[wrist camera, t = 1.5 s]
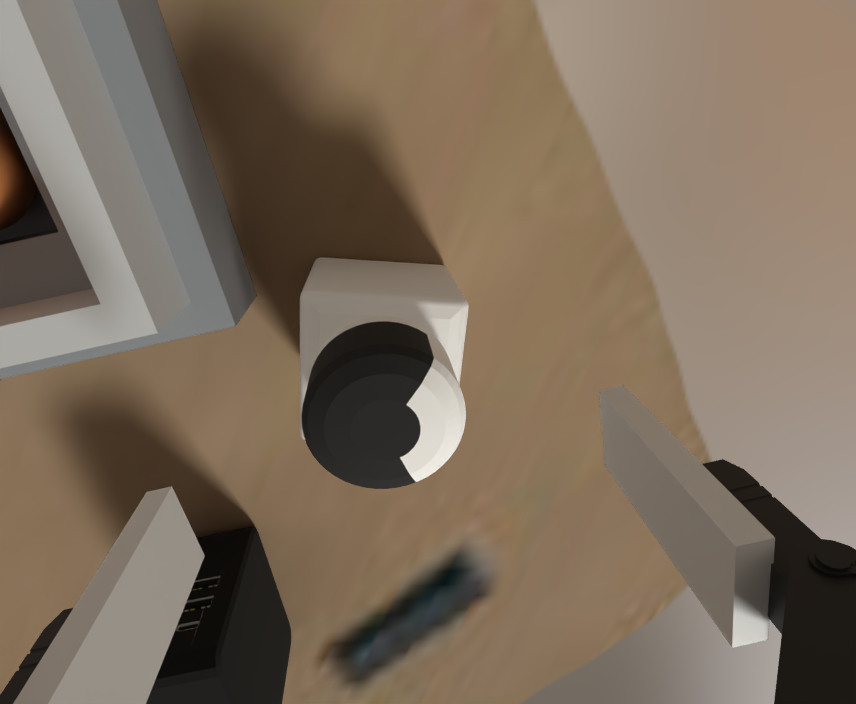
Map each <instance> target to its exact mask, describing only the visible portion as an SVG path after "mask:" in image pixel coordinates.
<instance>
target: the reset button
mask: <svg viewBox="0 0 856 704" xmlns="http://www.w3.org/2000/svg"><path fill="white" fill-rule="evenodd" d="M36 188H37V185H36V182H35V180H34V178H33V176H32V174H31V172H30V170H29V167H28V165H27V163H26V161H25V159H24V157H23V155H22V152H21V150H20V148H19V146H18V144H17V142H16V139H15V137H14V135H13V133H12V131H11V129H10V127H9V124H8V122H7V120H6V118H5V116H4V114H3V112H2V109H1V107H0V230H3V229H5V228H7V227H9V226H11V225H13V224H14V223H16V222H17V221H18V220H20V219H21V218H22V217H23V216H24V215H25V213H26V212H27V211H28V209H29V208H30V206H31V204H32V202H33V200H34V197H35V194H36Z"/></svg>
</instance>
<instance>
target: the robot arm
mask: <svg viewBox="0 0 856 704" xmlns="http://www.w3.org/2000/svg"><path fill="white" fill-rule="evenodd" d="M599 400H600V412H601V424H602V436H603V448H604V460H605V466H606V468H607V469H608V470H609V472H610V473H611V475H612V476H613V478H614V479H615V481H616V482H617V483H618V485H619V486H620V488H621V489H622V491H623V492H624V493H625V495H626V496H627V498H628V499H629V501H630V502H631V503H632V505H633V506H634V508H635V509H636V511H637V512H638V513H639V515H640V516H641V518H642V519H643V521H644V522H645V523H646V525H647V526H648V528H649V529H650V531H651V532H652V534H653V535H654V536H655V538H656V539H657V541H658V542H659V544H660V545H661V546H662V548H663V549H664V551H665V552H666V554H667V555H668V556H669V558H670V559H671V561H672V562H673V564H674V565H675V566H676V568H677V569H678V571H679V572H680V574H681V575H682V576H683V578H684V579H685V581H686V582H687V584H688V585H689V587H690V588H691V589H692V591H693V592H694V594H695V595H696V597H697V598H698V599H699V601H700V602H701V604H702V605H703V606H704V608H705V609H706V611H707V612H708V614H709V615H710V617H711V618H712V619H713V621H714V622H715V624H716V625H717V627H718V628H719V629H720V631H721V632H722V634H723V635H724V637H725V638H726V640H727V641H728V642H729V644H730V645H731V647H732V648H733V647H737V646H742V645H746V644H751V643H754V642H759V641H764V640H768V631H769V619H770V620H771V621H772V623H773V624H774V625H775V626H776V628H777V629H778V630H779V631H780V632H781V634H782V639H781V648H780V658H779V666H778V675H777V684H776V692H775V702H774V704H856V550H855V549H854V548H852V547H850V546H848V545H845V544H842V543H839V542H836V541H832V540H823V539H820V538H819V537H818V536H817V535H816V534H815V533H814V532H812V531H811V530H810V529H809V528H808V527H807V526H806V525H805V524H804V523H803V522H801V521H800V520H799V519H798V518H797V517H796V516H795V515H794V514H792V512H790V511H789V510H788V509H787V508H786V507H785V506H784V505H783V504H782V503H781V502H779V501H778V500H777V499H776V498H775V497H774V498H773V497H772V495H771V494H770V493H769V492H768V491H767V490H766V489H765V488H764V487H763V486H760V485H759V483H758V482H757V481H756V480H755V479H754V478H753V477H752V476H751V475H750V474H748V473H747V472H746V471H745V470H744V469H742V468H740V467H738V466H736V465H734V464H731V463H729V462H727V461H725V460H718V461H714V462H709V463H705V464H701V463H700V462H699V461H698V460H697V459H696V458H695V457H694V456H693V455H692V454H691V453H690V452H689V451H688V450H687V449H686V448H685V447H684V446H683V445H682V444H681V443H680V442H679V441H678V440H677V439H676V437H675V436H674V435H673V434H672V433H671V432H670V431H669V430H668V429H667V428H666V427H665V426H664V425H663V424H662V423H661V422H660V421H659V420H658V419H657V418H656V417H655V416H654V415H653V414H652V413H651V412H650V411H649V410H648V409H647V408H646V407H645V406H644V405H643V404H642V403H641V402H640V401H639V400H638V399H637V398H636V397H635V396H634V395H633V394H632V393H631V392H630V391H629V390H628V389H627V388H626V387H625V386H624V385H621V386H617V387H612V388H608V389H603V390H599ZM204 557H205V555H204V553H203V551H202V549H201V547H200V545H199V543H198V540H197V538H196V536H195V534H194V532H193V530H192V528H191V526H190V524H189V521H188V519H187V517H186V515H185V513H184V511H183V509H182V507H181V505H180V502H179V500H178V498H177V496H176V494H175V492H174V490H173V488H172V486H171V487H167V488H162V489H158V490H153V491H149V492H146V494H145V495H144V497H143V499H142V500H141V502H140V503H139V505H138V507H137V508H136V510H135V511H134V513H133V514H132V516H131V518H130V519H129V521H128V522H127V524H126V526H125V527H124V529H123V530H122V532H121V533H120V535H119V537H118V538H117V540H116V541H115V543H114V545H113V546H112V548H111V549H110V551H109V553H108V554H107V556H106V557H105V559H104V560H103V562H102V564H101V565H100V567H99V568H98V570H97V572H96V573H95V575H94V576H93V578H92V579H91V581H90V583H89V584H88V586H87V587H86V589H85V591H84V592H83V594H82V595H81V597H80V598H79V600H78V602H77V603H76V605H75V606H74V608H71V609H66V610H63V611H62V612H61V613H60V614H59V615H58V616H57V617H56V618H55V619H54V620H53V621H52V622H51V623H50V624H49V625H48V626H47V627H46V628H45V629H44V630H43V632H42V633H41V635H40V636H39V638H38V639H37V641H36V642H35V644H34V645H33V647H32V648H31V650H30V651H31V652H30V654H27V656H26V657H25V659H24V660H23V662H22V663H21V665H20V666H19V671H16V672H15V674H14V675H13V677H12V678H11V680H10V681H9V683H8V684H7V686H6V687H5V689H4V690H3V692H2V693H1V695H0V704H146V702H147V700H148V697H149V695H150V692H151V690H152V687H153V685H154V682H155V680H156V677H157V675H158V672H159V670H160V667H161V665H162V662H163V660H164V657H165V655H166V652H167V649H168V647H169V644H170V642H171V639H172V637H173V634H174V632H175V629H176V627H177V624H178V622H179V619H180V617H181V614H182V612H183V609H184V607H185V604H186V602H187V599H188V597H189V594H190V592H191V589H192V587H193V584H194V582H195V579H196V577H197V574H198V572H199V569H200V567H201V564H202V562H203V559H204Z"/></svg>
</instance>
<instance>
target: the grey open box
mask: <svg viewBox="0 0 856 704" xmlns="http://www.w3.org/2000/svg"><path fill="white" fill-rule="evenodd" d="M0 107H1V109H2V112H3V114H4V116H5V118H6V120H7V122H8V124H9V127H10V129H11V131H12V133H13V135H14V137H15V139H16V142H17V144H18V146H19V148H20V150H21V152H22V155H23V157H24V159H25V161H26V163H27V165H28V167H29V170H30V172H31V174H32V176H33V178H34V180H35V182H36V185H37V188H36V194H35V197H34V200H33V202H32V204H31V206H30V208H29V209H28V211H27V212H26V213H25V215H24V216H23V217H22V218H21V219H20V220H18V221H17V222H16V223H14V224H13V225H11V226H9V227H7V228H5V229H3V230H0V379H3V378H7V377H12V376H16V375H21V374H25V373H30V372H34V371H38V370H43V369H47V368H52V367H56V366H61V365H65V364H70V363H74V362H79V361H83V360H87V359H92V358H96V357H101V356H105V355H110V354H114V353H119V352H123V351H128V350H132V349H136V348H141V347H145V346H150V345H154V344H159V343H163V342H168V341H172V340H177V339H181V338H186V337H190V336H194V335H199V334H203V333H208V332H212V331H217V330H221V329H226V328H230V327H235V326H236V325H237V324H238V322H239V321H240V319H241V318H242V316H243V315H244V313H245V312H246V311H247V309H248V308H249V306H250V305H251V303H252V302H253V301H254V299H255V298H256V296H257V295H256V292H255V289H254V287H253V284H252V281H251V278H250V275H249V272H248V269H247V266H246V263H245V260H244V257H243V254H242V251H241V248H240V245H239V242H238V239H237V236H236V233H235V230H234V227H233V224H232V222H231V219H230V216H229V213H228V210H227V207H226V204H225V201H224V198H223V195H222V192H221V189H220V186H219V183H218V180H217V177H216V174H215V171H214V168H213V165H212V162H211V160H210V157H209V154H208V151H207V148H206V145H205V142H204V139H203V136H202V133H201V130H200V127H199V124H198V121H197V118H196V115H195V112H194V109H193V106H192V103H191V100H190V98H189V95H188V92H187V89H186V86H185V83H184V80H183V77H182V74H181V71H180V68H179V65H178V62H177V59H176V56H175V53H174V50H173V47H172V44H171V41H170V38H169V35H168V33H167V30H166V27H165V24H164V21H163V18H162V15H161V12H160V9H159V6H158V3H157V0H0Z"/></svg>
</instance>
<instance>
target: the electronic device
mask: <svg viewBox="0 0 856 704" xmlns="http://www.w3.org/2000/svg"><path fill="white" fill-rule="evenodd" d="M197 540H198V543H199V545H200V547H201V549H202V551H203V553H204V555H205V557H204V559H203V562H202V564H201V567H200V569H199V572H198V574H197V577H196V579H195V582H194V584H193V587H192V589H191V592H190V594H189V597H188V599H187V602H186V604H185V607H184V609H183V612H182V614H181V617H180V619H179V622H178V624H177V627H176V629H175V632H174V634H173V637H172V639H171V642H170V644H169V647H168V649H167V652H166V655H165V657H164V660H163V662H162V665H161V667H160V670H159V672H158V675H157V677H156V680H155V682H154V685H153V687H152V690H151V692H150V695H149V697H148V700H147V702H146V704H282V699H283V693H284V686H285V679H286V673H287V666H288V659H289V653H290V646H291V629H290V624H289V621H288V618H287V615H286V612H285V609H284V606H283V603H282V601H281V598H280V595H279V592H278V589H277V586H276V583H275V580H274V577H273V574H272V572H271V569H270V566H269V563H268V560H267V557H266V554H265V551H264V548H263V545H262V543H261V540H260V537H259V534H258V531H257V530H256V528H254V527H252V528H247V529H242V530H237V531H231V532H226V533H221V534H216V535H210V536H205V537H200V538H197Z"/></svg>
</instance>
